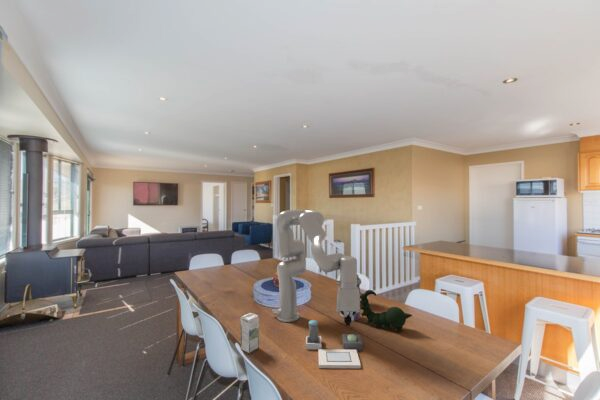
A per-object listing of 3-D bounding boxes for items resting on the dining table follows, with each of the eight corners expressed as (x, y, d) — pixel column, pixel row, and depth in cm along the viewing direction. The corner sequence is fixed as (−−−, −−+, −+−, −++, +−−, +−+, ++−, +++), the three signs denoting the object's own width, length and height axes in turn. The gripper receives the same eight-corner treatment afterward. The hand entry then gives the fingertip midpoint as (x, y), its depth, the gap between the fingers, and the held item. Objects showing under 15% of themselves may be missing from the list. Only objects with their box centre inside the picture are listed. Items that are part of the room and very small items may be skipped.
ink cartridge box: (360, 318, 147) (359, 292, 147) (354, 321, 143) (353, 294, 143) (346, 313, 154) (345, 287, 154) (339, 316, 151) (339, 290, 151)
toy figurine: (360, 329, 138) (412, 337, 125) (356, 291, 139) (407, 295, 126) (366, 322, 146) (415, 329, 133) (362, 286, 147) (411, 289, 134)
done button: (348, 346, 118) (347, 338, 118) (346, 342, 122) (346, 334, 122) (357, 346, 118) (357, 338, 118) (355, 342, 122) (355, 334, 122)
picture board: (318, 368, 104) (318, 364, 104) (318, 352, 115) (318, 349, 115) (360, 368, 103) (360, 364, 103) (356, 352, 114) (356, 349, 114)
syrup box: (250, 343, 123) (250, 312, 123) (259, 348, 120) (258, 315, 120) (240, 349, 119) (239, 316, 119) (249, 353, 115) (248, 319, 115)
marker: (309, 347, 119) (308, 324, 119) (309, 342, 123) (308, 319, 123) (318, 347, 119) (317, 324, 119) (318, 343, 123) (317, 320, 123)
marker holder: (305, 349, 118) (305, 343, 118) (306, 341, 124) (306, 335, 124) (321, 349, 117) (321, 343, 117) (321, 341, 124) (321, 335, 124)
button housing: (344, 350, 116) (343, 343, 116) (342, 340, 124) (341, 334, 124) (362, 350, 116) (362, 343, 116) (359, 340, 124) (359, 334, 124)
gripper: (332, 286, 119) (331, 328, 119) (366, 287, 118) (366, 329, 118) (331, 281, 126) (330, 320, 126) (363, 282, 125) (363, 321, 126)
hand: (347, 324), depth 122 cm, fingers closed
